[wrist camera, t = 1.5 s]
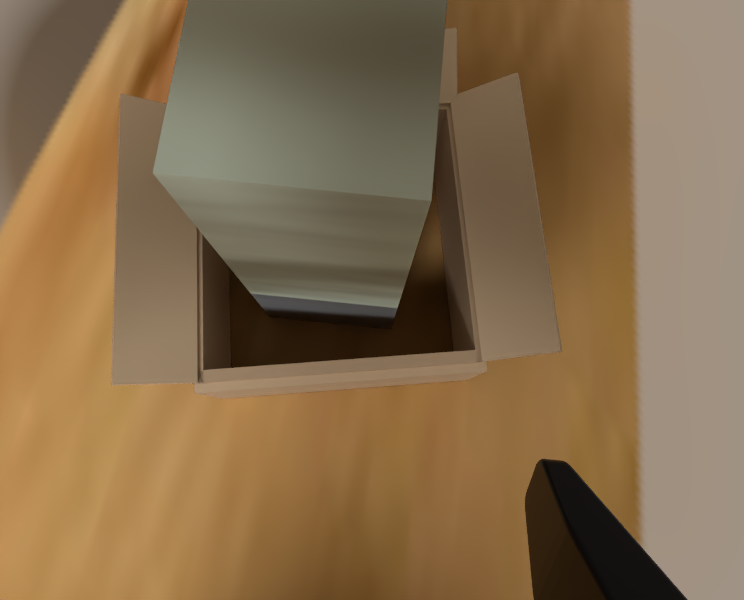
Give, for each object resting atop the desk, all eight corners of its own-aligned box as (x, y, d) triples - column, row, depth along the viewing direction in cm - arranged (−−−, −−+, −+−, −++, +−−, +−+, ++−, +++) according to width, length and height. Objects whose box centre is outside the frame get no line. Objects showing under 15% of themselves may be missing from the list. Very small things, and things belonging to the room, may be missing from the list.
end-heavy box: (390, 329, 22) (431, 200, 10) (269, 316, 22) (152, 172, 10) (401, 215, 24) (449, -32, 11) (285, 203, 24) (199, -57, 11)
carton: (517, 376, 22) (566, 360, 17) (168, 402, 22) (107, 395, 16) (480, 107, 25) (513, 21, 19) (170, 124, 24) (117, 41, 19)
